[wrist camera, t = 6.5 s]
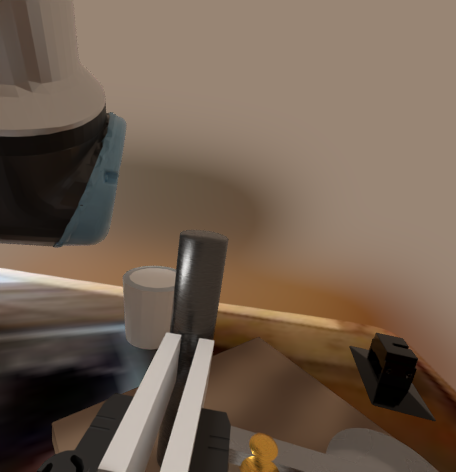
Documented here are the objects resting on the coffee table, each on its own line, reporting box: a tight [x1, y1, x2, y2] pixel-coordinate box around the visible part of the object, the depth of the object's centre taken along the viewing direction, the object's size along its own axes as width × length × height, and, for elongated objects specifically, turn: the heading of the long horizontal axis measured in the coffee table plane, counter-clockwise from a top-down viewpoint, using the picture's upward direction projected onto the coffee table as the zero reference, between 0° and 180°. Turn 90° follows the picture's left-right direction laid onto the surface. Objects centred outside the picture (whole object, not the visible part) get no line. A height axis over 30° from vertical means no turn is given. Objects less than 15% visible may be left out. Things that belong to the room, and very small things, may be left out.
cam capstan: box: [156, 230, 438, 472], centre depth 15 cm, size 17×7×14 cm, turn 78°
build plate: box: [349, 333, 436, 421], centre depth 30 cm, size 12×7×5 cm, turn 169°
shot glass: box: [123, 266, 176, 350], centre depth 31 cm, size 7×7×7 cm
